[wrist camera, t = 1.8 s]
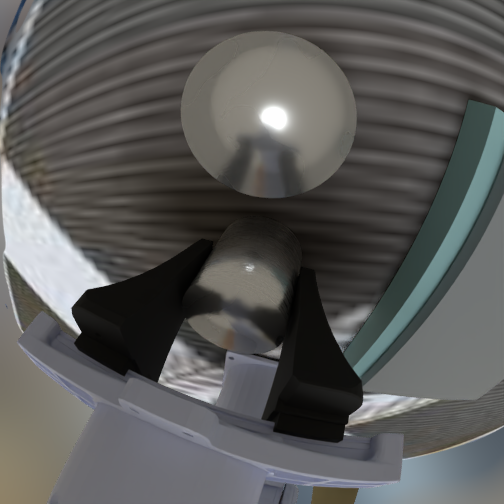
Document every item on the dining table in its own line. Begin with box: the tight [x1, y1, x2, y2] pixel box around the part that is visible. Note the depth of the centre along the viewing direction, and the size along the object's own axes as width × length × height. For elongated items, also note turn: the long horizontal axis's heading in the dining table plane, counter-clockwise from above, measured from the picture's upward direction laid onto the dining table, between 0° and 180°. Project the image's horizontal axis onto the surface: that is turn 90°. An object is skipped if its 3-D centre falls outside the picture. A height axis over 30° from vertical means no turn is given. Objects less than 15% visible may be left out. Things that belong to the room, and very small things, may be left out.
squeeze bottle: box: [311, 486, 359, 504], centre depth 26 cm, size 8×8×18 cm
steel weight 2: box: [182, 216, 302, 354], centre depth 13 cm, size 4×4×5 cm
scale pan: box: [361, 160, 504, 400], centre depth 9 cm, size 16×12×1 cm
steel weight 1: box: [181, 31, 357, 198], centre depth 8 cm, size 4×4×5 cm
